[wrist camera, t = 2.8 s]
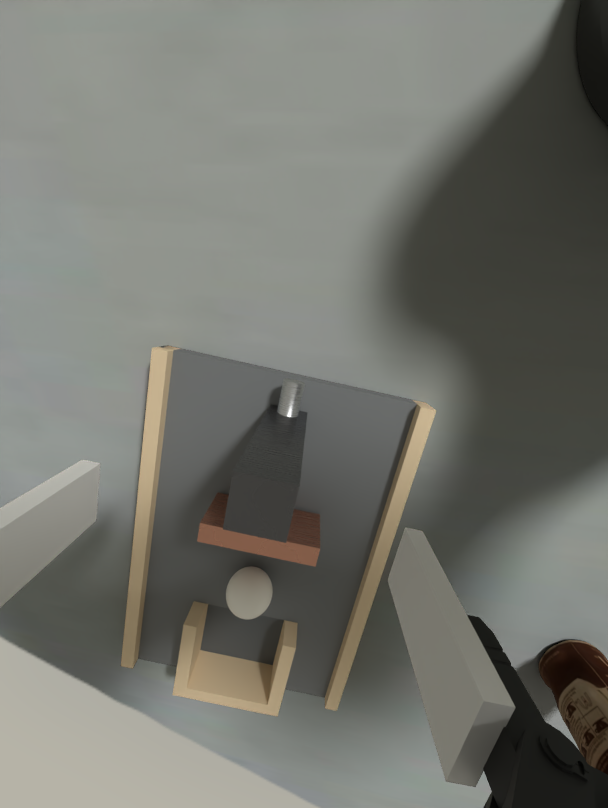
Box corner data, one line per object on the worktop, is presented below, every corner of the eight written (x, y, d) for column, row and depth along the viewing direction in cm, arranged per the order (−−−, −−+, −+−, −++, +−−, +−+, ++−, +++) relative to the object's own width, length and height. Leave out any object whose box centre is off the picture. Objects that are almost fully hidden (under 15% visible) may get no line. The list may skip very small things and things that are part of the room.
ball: (236, 552, 30) (224, 586, 26) (278, 561, 30) (273, 597, 26) (229, 587, 31) (216, 625, 27) (270, 596, 31) (264, 635, 27)
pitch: (166, 345, 27) (141, 349, 23) (425, 402, 27) (443, 416, 23) (134, 642, 35) (111, 682, 31) (335, 684, 35) (337, 729, 31)
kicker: (238, 365, 25) (172, 402, 14) (352, 390, 25) (381, 448, 14) (213, 520, 29) (142, 654, 17) (312, 541, 29) (309, 689, 17)
